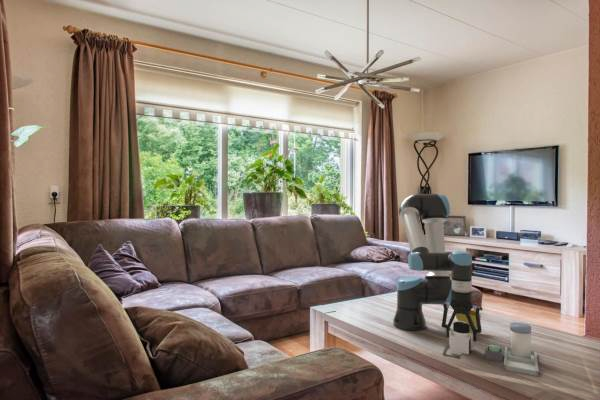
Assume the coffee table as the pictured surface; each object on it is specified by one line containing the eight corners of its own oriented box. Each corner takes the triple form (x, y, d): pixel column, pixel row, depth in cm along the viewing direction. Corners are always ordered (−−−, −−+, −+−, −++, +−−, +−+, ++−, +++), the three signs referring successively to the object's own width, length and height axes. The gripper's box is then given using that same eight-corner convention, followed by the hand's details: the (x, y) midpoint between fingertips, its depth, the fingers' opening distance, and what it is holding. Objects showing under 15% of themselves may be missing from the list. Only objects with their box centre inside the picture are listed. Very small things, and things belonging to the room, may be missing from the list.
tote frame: (442, 355, 154) (442, 354, 154) (447, 344, 166) (447, 343, 166) (477, 361, 148) (477, 360, 148) (479, 350, 159) (479, 349, 159)
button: (488, 355, 149) (488, 347, 149) (489, 351, 152) (489, 344, 152) (499, 356, 147) (499, 348, 147) (499, 353, 150) (499, 345, 150)
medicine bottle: (469, 357, 152) (469, 326, 152) (450, 353, 156) (450, 323, 156) (472, 351, 158) (472, 321, 158) (453, 347, 162) (453, 318, 162)
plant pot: (480, 331, 181) (480, 310, 181) (480, 338, 172) (480, 316, 172) (456, 328, 186) (456, 307, 186) (455, 335, 176) (455, 313, 176)
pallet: (483, 370, 141) (483, 358, 141) (487, 349, 160) (487, 338, 160) (542, 381, 132) (542, 369, 132) (539, 357, 152) (539, 346, 152)
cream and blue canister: (509, 358, 148) (509, 326, 148) (510, 351, 154) (510, 321, 154) (531, 362, 145) (531, 329, 145) (531, 355, 151) (531, 324, 151)
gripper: (433, 289, 158) (433, 345, 159) (488, 295, 148) (488, 355, 149) (436, 285, 165) (436, 339, 165) (490, 291, 155) (489, 348, 155)
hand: (461, 347), depth 157 cm, fingers closed on medicine bottle, 7 cm apart
